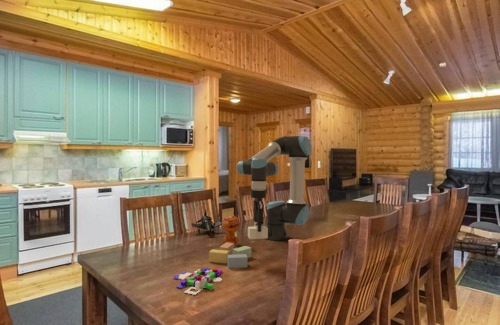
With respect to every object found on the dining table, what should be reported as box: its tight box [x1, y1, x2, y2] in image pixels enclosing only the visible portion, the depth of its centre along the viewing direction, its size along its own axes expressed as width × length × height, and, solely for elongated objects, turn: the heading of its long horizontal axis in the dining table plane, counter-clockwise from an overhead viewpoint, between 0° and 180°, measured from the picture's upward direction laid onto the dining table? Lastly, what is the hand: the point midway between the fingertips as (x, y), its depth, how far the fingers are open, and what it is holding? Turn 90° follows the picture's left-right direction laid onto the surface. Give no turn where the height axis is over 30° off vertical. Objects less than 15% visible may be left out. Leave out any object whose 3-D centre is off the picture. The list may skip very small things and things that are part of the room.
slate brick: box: [226, 254, 248, 269], centre depth 149 cm, size 9×4×5 cm, turn 100°
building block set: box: [173, 267, 223, 296], centre depth 132 cm, size 25×20×4 cm
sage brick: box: [231, 245, 252, 259], centre depth 161 cm, size 9×4×5 cm, turn 133°
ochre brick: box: [208, 249, 229, 264], centre depth 156 cm, size 9×4×5 cm, turn 77°
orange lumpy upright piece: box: [222, 214, 241, 247], centre depth 182 cm, size 11×11×18 cm
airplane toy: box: [191, 209, 223, 236], centre depth 207 cm, size 20×19×15 cm
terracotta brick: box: [218, 242, 235, 255], centre depth 167 cm, size 9×4×5 cm, turn 160°
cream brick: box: [247, 225, 268, 240], centre depth 154 cm, size 9×4×5 cm, turn 103°
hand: (257, 236), depth 154 cm, fingers closed on cream brick, 5 cm apart
